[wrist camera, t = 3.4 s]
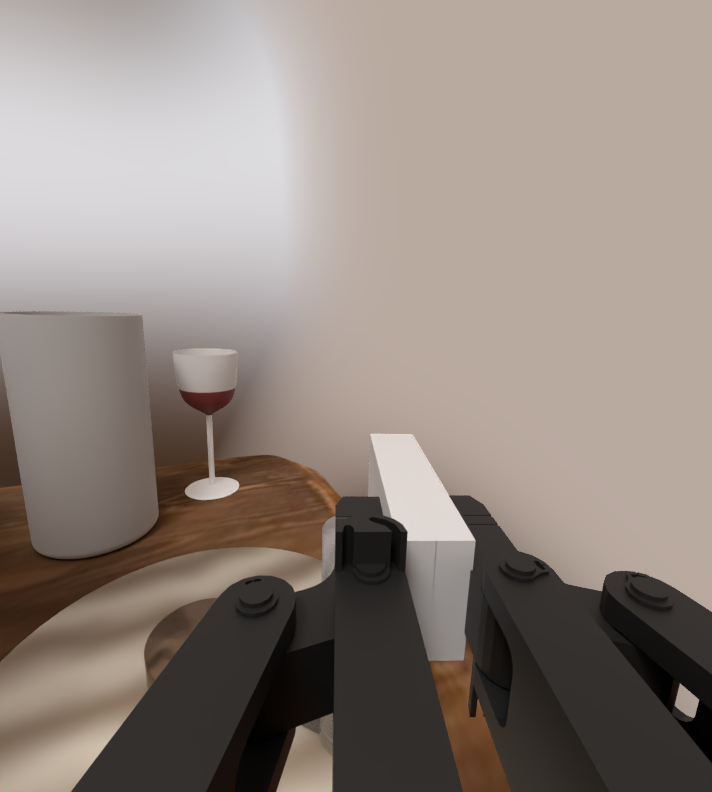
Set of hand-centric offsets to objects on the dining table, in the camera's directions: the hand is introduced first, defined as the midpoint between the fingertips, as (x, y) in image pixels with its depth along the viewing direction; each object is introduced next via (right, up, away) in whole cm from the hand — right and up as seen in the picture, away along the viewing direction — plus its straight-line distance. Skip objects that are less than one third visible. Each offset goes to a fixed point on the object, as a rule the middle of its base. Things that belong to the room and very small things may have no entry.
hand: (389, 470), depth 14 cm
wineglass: (-22, -11, +44) cm, 51 cm away
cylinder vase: (-31, -13, +33) cm, 47 cm away
